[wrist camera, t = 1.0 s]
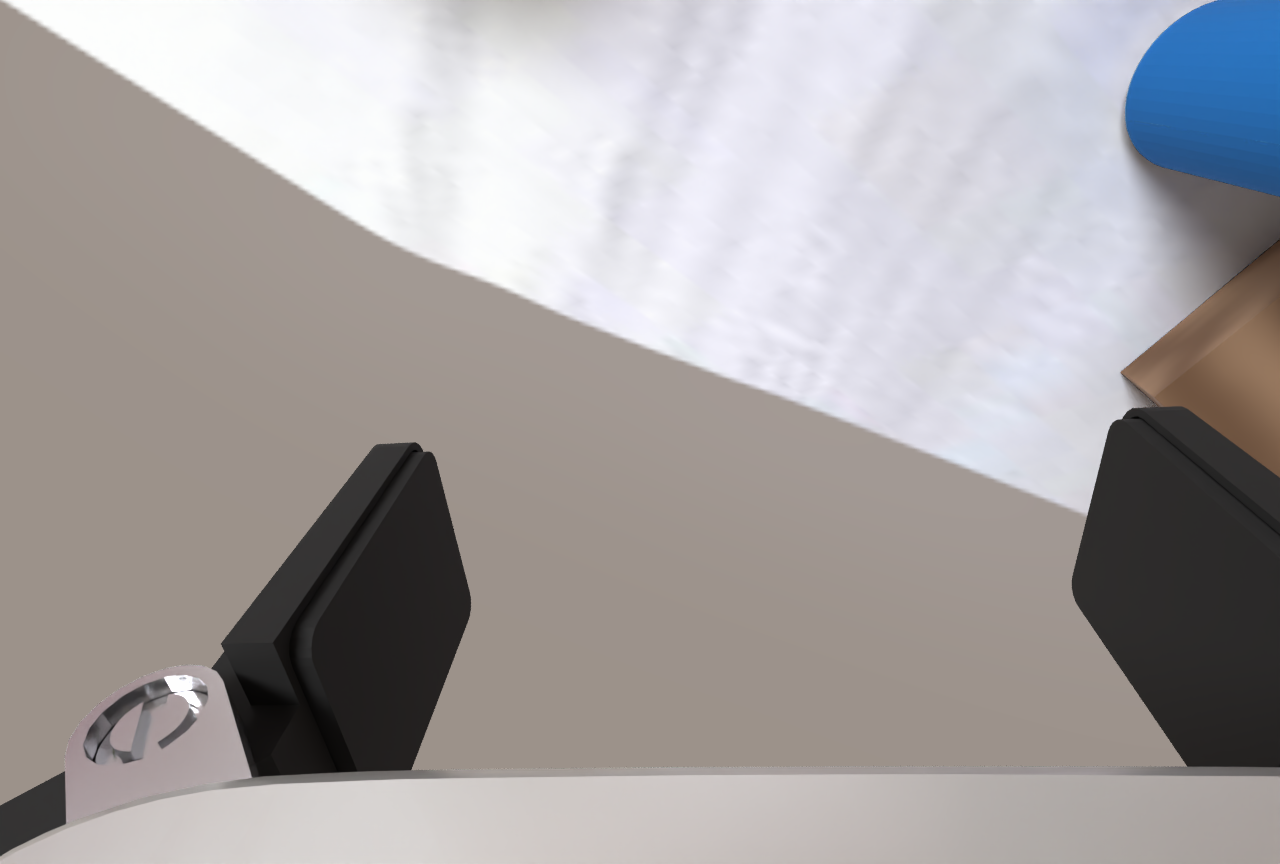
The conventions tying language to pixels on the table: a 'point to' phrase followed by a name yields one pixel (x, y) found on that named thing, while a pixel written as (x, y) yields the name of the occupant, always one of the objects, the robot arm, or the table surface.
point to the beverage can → (1213, 95)
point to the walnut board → (1226, 361)
